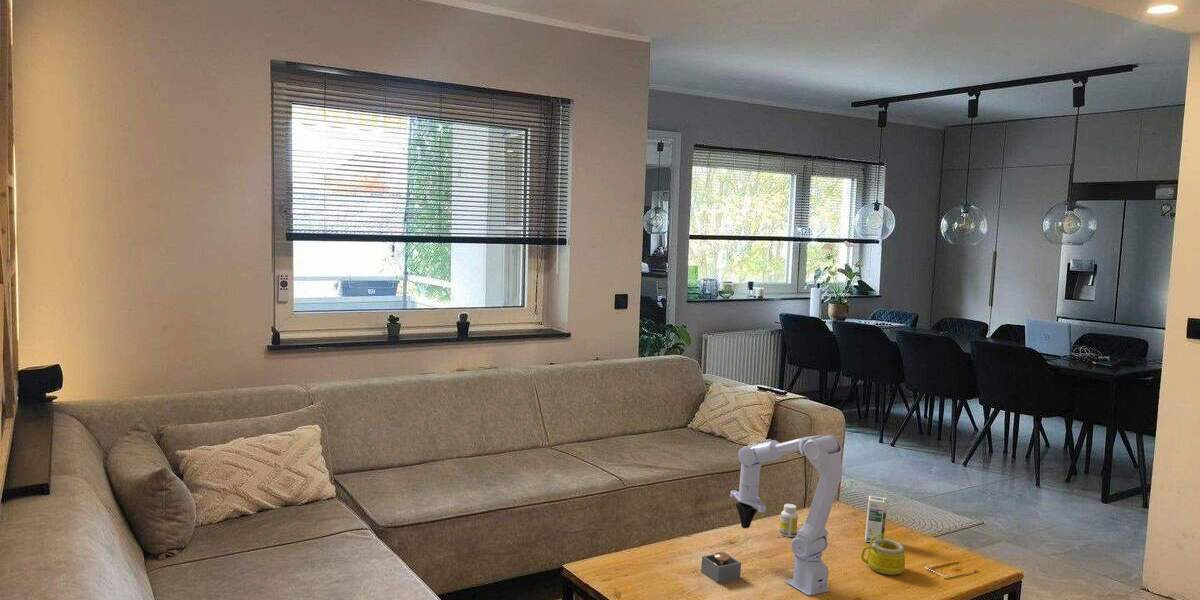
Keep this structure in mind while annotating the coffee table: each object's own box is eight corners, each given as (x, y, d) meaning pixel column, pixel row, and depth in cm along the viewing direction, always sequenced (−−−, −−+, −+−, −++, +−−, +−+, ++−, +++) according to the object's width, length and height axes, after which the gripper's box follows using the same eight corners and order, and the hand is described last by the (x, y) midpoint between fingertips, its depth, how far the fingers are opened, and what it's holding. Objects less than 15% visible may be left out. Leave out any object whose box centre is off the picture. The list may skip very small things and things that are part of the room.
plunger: (735, 574, 244) (736, 557, 244) (718, 578, 241) (720, 560, 241) (722, 566, 249) (723, 549, 249) (706, 569, 246) (707, 552, 246)
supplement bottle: (795, 531, 283) (797, 503, 282) (797, 538, 277) (799, 509, 276) (778, 530, 283) (781, 502, 282) (780, 536, 278) (782, 507, 277)
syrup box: (864, 542, 277) (869, 499, 276) (864, 536, 283) (869, 494, 281) (883, 545, 276) (887, 502, 274) (882, 539, 281) (887, 497, 280)
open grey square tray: (739, 579, 244) (741, 562, 243) (717, 584, 240) (719, 567, 239) (722, 568, 251) (724, 552, 250) (700, 572, 247) (702, 556, 246)
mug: (902, 565, 261) (906, 528, 259) (905, 580, 250) (909, 541, 249) (859, 558, 264) (863, 521, 263) (860, 572, 254) (864, 534, 252)
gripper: (775, 490, 251) (771, 534, 253) (744, 475, 264) (740, 517, 265) (756, 493, 248) (753, 537, 249) (726, 477, 260) (722, 520, 262)
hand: (745, 527), depth 257 cm, fingers closed
